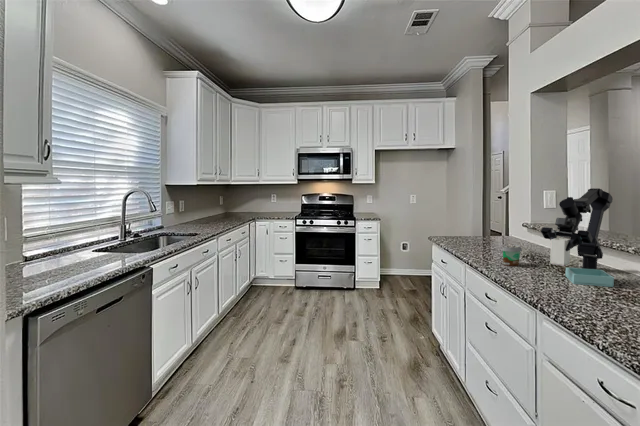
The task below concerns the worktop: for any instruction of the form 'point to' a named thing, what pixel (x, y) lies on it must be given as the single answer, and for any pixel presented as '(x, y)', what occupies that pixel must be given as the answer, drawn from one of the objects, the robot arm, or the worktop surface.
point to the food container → (511, 255)
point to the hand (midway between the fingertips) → (558, 249)
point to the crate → (589, 277)
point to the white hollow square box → (559, 252)
